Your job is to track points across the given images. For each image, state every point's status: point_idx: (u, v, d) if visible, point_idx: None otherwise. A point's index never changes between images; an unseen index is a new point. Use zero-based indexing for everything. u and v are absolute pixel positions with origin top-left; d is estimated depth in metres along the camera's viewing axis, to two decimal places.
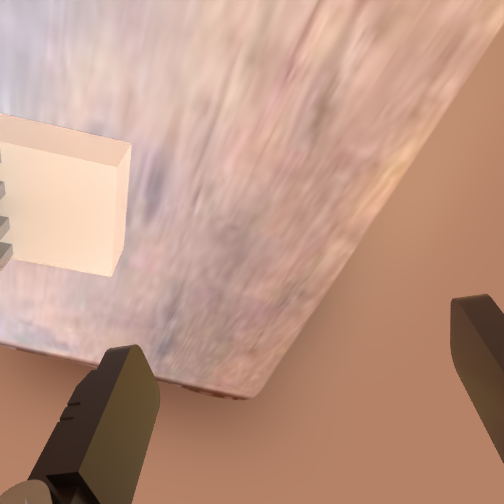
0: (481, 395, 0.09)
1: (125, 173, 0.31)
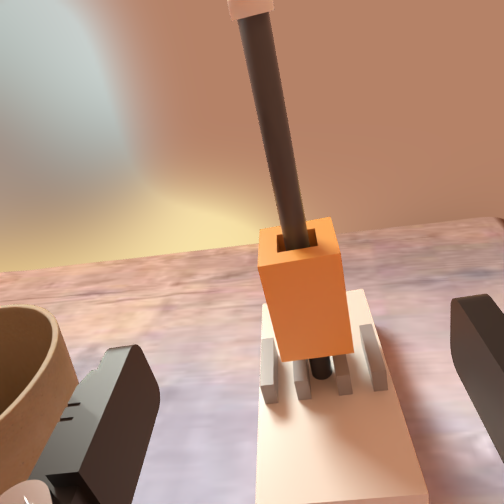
0: (481, 395, 0.09)
1: None
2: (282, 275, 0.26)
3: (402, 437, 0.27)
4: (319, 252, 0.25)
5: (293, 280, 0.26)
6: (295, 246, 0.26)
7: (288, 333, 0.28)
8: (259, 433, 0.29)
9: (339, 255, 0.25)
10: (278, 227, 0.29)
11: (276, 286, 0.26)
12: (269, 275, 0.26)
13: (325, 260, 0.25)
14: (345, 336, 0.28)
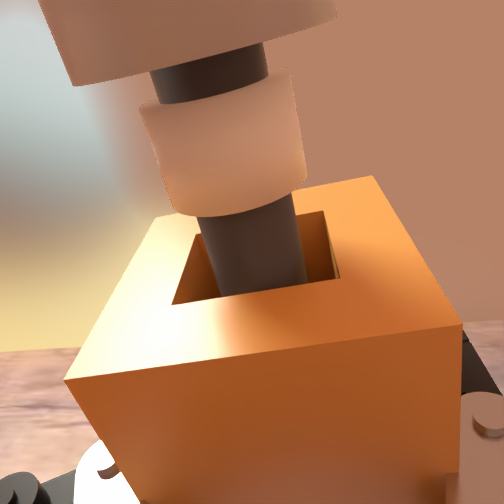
0: None
1: None
2: (183, 413, 0.06)
3: None
4: (350, 314, 0.05)
5: (233, 432, 0.06)
6: None
7: None
8: None
9: (455, 335, 0.05)
10: None
11: (164, 450, 0.06)
12: (125, 412, 0.06)
13: (381, 357, 0.05)
14: None
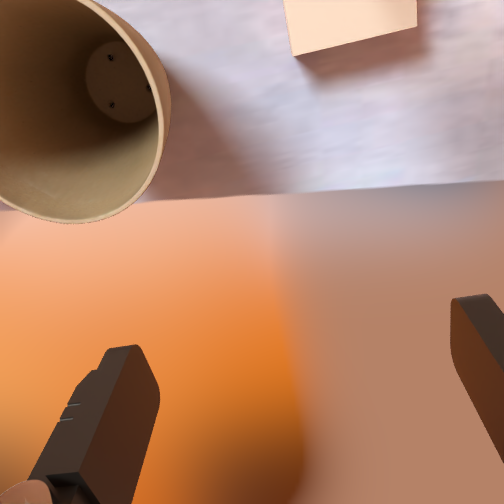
0: (481, 395, 0.09)
1: None
2: None
3: None
4: None
5: None
6: None
7: None
8: None
9: None
10: None
11: None
12: None
13: None
14: None
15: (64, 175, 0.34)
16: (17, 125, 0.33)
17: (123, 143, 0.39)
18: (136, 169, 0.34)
